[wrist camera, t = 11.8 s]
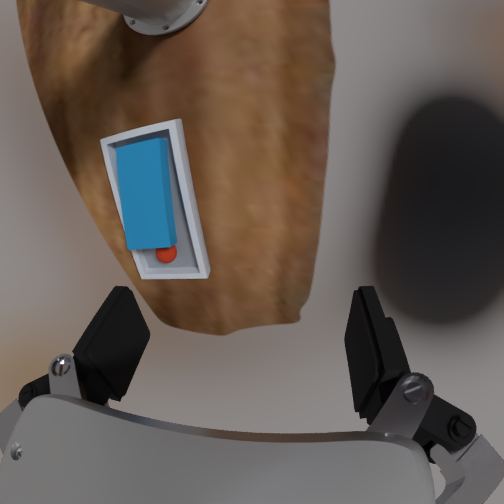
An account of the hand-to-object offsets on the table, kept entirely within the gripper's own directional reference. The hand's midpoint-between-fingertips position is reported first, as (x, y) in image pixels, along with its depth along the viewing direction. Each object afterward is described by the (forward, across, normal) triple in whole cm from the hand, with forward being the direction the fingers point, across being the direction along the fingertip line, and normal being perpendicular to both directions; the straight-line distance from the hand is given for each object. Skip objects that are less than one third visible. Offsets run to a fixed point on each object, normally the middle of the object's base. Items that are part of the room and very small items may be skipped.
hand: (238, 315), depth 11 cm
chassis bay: (+28, +17, +5) cm, 33 cm away
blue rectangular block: (+27, +16, +5) cm, 32 cm away
